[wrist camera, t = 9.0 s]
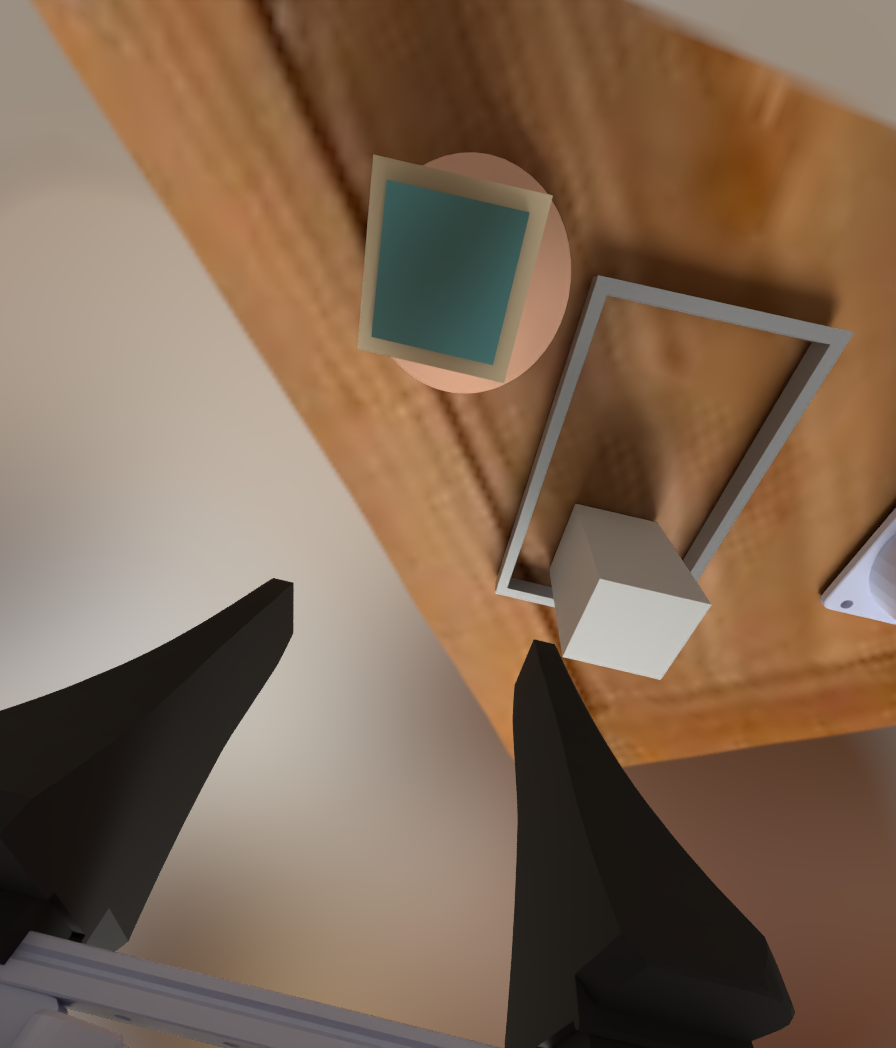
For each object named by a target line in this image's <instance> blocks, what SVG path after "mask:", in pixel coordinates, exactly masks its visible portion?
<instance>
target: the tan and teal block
mask: <svg viewBox="0 0 896 1048" xmlns="http://www.w3.org/2000/svg"><path fill="white" fill-rule="evenodd" d="M552 197H553V196H552V195H548V194H544V193H539V192H535V191H531V190H526V189H522V188H518V187H513V186H509V185H505V184H500V183H496V182H491V181H487V180H483V179H478V178H474V177H470V176H465V175H461V174H457V173H452V172H448V171H444V170H439V169H435V168H430V167H426V166H422V165H417V164H413V163H409V162H404V161H400V160H396V159H391V158H387V157H383V156H378V155H374V154H373V163H372V175H371V188H370V200H369V212H368V224H367V237H366V249H365V261H364V273H363V286H362V298H361V310H360V322H359V334H358V347H357V349H360V350H364V351H368V352H373V353H377V354H381V355H386V356H390V357H394V358H398V359H403V360H407V361H411V362H415V363H420V364H424V365H428V366H433V367H437V368H441V369H445V370H450V371H454V372H458V373H462V374H467V375H471V376H475V377H480V378H484V379H488V380H492V381H497V382H501V383H504V382H505V378H506V374H507V370H508V367H509V363H510V359H511V355H512V351H513V347H514V343H515V340H516V336H517V332H518V328H519V324H520V320H521V317H522V313H523V309H524V305H525V301H526V297H527V293H528V290H529V286H530V282H531V278H532V274H533V270H534V267H535V263H536V259H537V255H538V251H539V247H540V243H541V240H542V236H543V232H544V228H545V224H546V220H547V217H548V213H549V209H550V205H551V201H552Z"/></svg>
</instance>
